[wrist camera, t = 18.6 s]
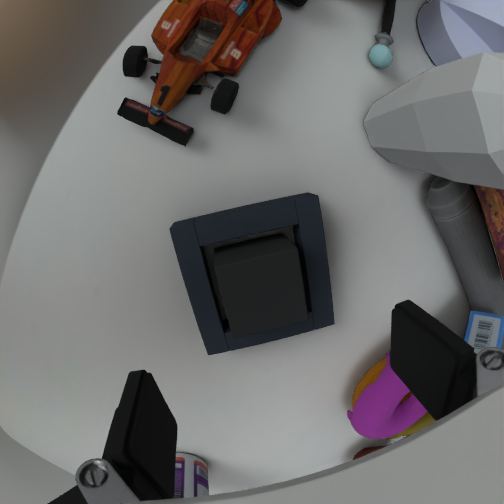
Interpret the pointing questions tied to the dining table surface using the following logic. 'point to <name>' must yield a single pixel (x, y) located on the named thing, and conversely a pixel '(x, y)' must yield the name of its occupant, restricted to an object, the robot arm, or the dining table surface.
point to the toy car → (197, 56)
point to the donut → (383, 403)
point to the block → (261, 284)
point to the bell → (494, 218)
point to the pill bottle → (190, 477)
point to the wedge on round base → (461, 28)
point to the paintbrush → (384, 39)
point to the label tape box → (484, 330)
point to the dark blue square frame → (243, 224)
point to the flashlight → (468, 243)
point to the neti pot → (416, 426)
